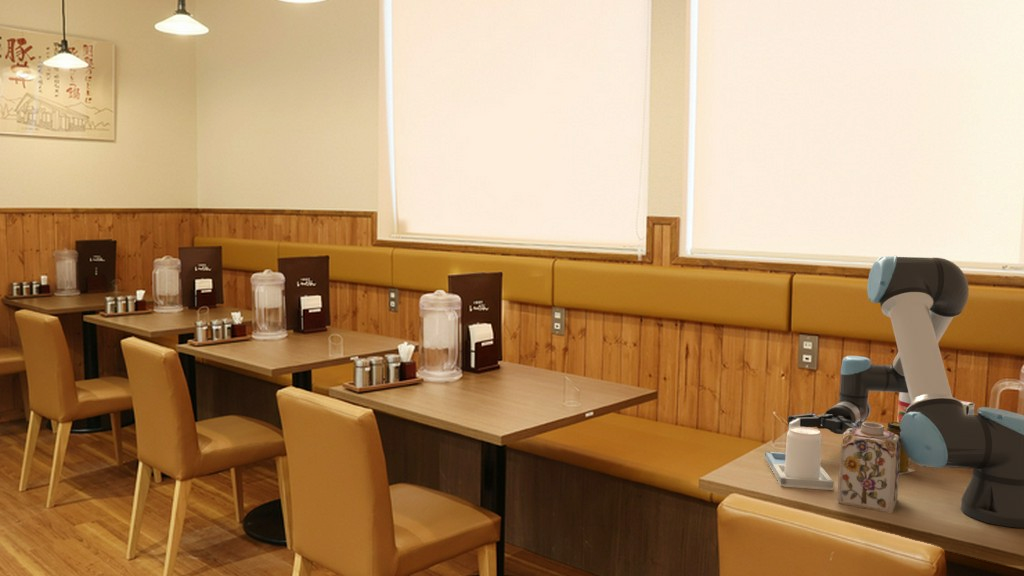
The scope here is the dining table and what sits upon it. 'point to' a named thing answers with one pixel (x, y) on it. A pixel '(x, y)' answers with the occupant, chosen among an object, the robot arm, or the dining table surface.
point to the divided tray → (778, 468)
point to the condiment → (904, 458)
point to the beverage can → (803, 453)
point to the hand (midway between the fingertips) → (816, 433)
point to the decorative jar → (869, 468)
